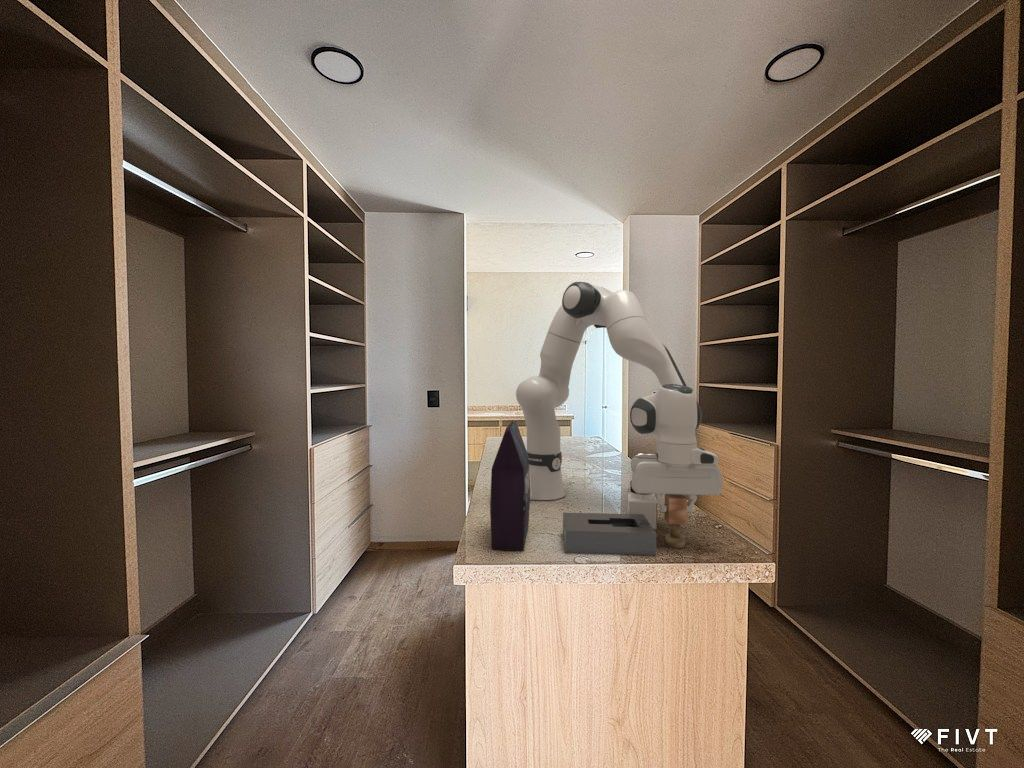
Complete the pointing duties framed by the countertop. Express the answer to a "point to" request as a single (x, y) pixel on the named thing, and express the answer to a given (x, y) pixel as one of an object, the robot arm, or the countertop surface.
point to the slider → (675, 519)
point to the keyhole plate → (608, 534)
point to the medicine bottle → (643, 506)
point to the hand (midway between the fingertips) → (675, 512)
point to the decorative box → (510, 492)
